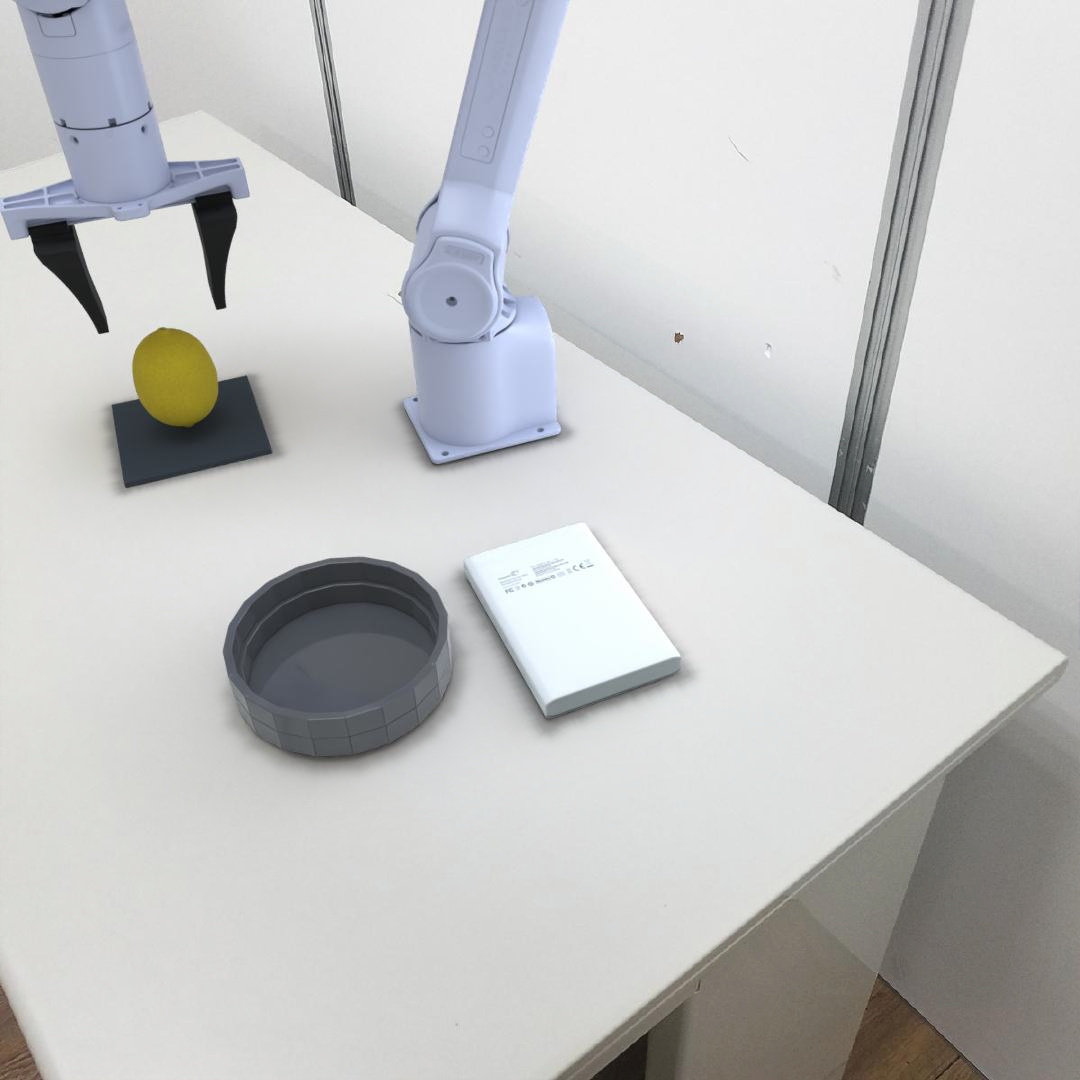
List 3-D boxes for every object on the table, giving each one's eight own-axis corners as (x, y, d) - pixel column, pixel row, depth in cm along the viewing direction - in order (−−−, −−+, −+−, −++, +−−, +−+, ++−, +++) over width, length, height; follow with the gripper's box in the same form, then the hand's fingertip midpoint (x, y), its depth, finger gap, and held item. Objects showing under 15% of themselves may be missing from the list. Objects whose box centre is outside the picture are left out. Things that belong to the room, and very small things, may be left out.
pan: (418, 577, 68) (412, 535, 66) (480, 720, 60) (477, 678, 57) (221, 631, 65) (208, 589, 63) (257, 790, 57) (244, 748, 54)
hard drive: (545, 722, 59) (464, 575, 68) (680, 673, 62) (585, 538, 70) (544, 702, 58) (462, 556, 67) (682, 653, 61) (585, 518, 69)
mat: (247, 379, 85) (246, 375, 84) (272, 453, 78) (271, 448, 77) (112, 409, 82) (111, 404, 82) (125, 488, 75) (123, 483, 75)
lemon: (209, 453, 77) (181, 354, 72) (136, 444, 78) (103, 347, 73) (240, 407, 81) (217, 311, 76) (170, 400, 82) (142, 304, 77)
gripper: (-27, 157, 61) (52, 368, 70) (238, 114, 65) (280, 319, 74) (-28, 113, 66) (46, 315, 75) (218, 75, 69) (260, 272, 79)
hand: (161, 314), depth 75 cm, fingers open, 7 cm apart
